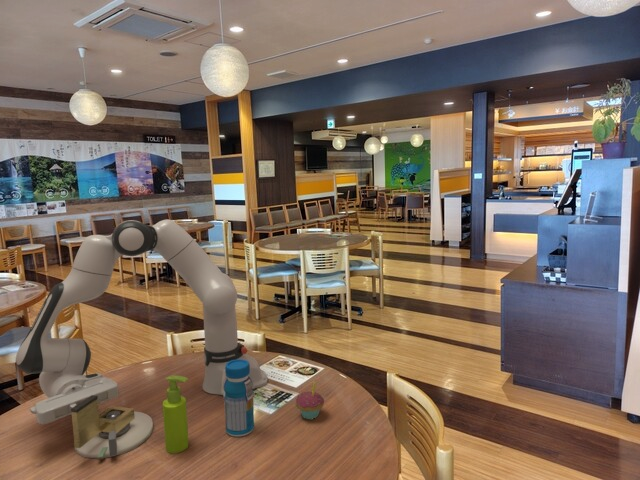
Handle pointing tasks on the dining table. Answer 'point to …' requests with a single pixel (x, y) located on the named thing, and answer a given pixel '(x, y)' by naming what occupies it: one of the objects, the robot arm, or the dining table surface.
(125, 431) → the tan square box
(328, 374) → the dining table surface
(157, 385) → the dining table surface
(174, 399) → the soap dispenser
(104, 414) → the tan piece
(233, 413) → the beverage bottle
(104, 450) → the plate
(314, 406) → the cupcake
